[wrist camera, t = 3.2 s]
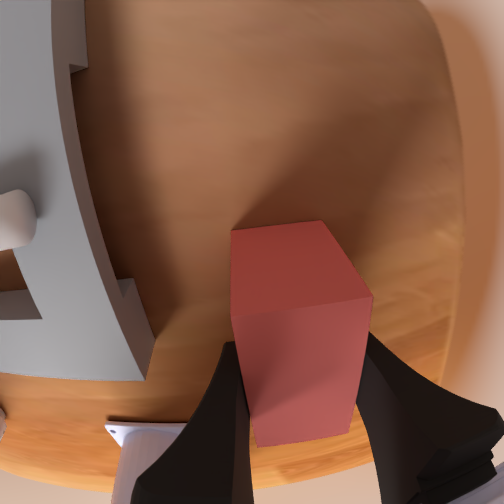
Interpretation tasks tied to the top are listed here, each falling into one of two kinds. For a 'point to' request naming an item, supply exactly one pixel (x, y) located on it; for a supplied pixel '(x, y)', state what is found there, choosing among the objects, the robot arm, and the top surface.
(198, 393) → the top surface
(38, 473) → the top surface
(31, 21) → the grey frame with dowel
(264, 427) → the red arch block
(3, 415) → the energy drink can
